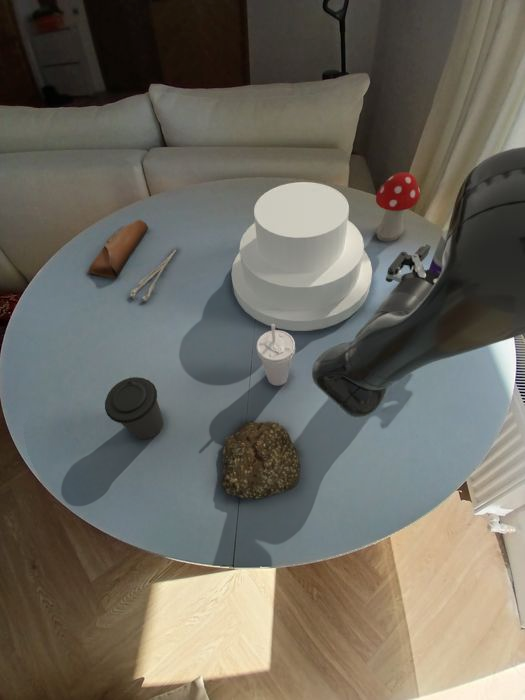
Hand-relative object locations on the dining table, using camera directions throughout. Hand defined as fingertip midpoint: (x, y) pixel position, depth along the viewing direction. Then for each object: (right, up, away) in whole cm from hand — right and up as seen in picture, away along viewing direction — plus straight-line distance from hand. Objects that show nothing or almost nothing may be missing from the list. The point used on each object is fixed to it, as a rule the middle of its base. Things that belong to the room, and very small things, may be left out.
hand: (450, 258), depth 70 cm
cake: (-25, -1, +18) cm, 30 cm away
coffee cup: (-53, -29, -2) cm, 61 cm away
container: (0, -7, +7) cm, 10 cm away
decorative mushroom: (-3, +11, +25) cm, 27 cm away
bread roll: (-34, -34, -7) cm, 48 cm away
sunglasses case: (-68, +8, +27) cm, 74 cm away
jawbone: (-57, +1, +22) cm, 61 cm away
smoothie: (-30, -21, +2) cm, 37 cm away
